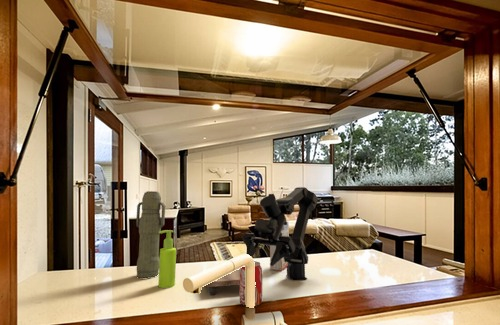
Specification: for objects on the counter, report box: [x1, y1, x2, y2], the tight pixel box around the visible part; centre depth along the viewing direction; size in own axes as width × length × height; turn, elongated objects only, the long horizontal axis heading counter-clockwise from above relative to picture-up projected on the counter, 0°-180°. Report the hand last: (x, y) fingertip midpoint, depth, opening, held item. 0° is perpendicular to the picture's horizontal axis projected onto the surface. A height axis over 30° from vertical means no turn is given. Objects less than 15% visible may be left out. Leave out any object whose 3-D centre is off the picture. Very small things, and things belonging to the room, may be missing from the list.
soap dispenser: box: [157, 229, 177, 289], centre depth 101 cm, size 6×7×20 cm
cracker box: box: [269, 221, 290, 272], centre depth 130 cm, size 14×6×21 cm, turn 157°
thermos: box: [135, 190, 166, 279], centre depth 116 cm, size 9×12×35 cm
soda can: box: [239, 260, 263, 306], centre depth 84 cm, size 7×7×12 cm
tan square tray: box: [205, 268, 240, 296], centre depth 98 cm, size 16×14×4 cm
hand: (258, 263), depth 88 cm, fingers open, 9 cm apart
